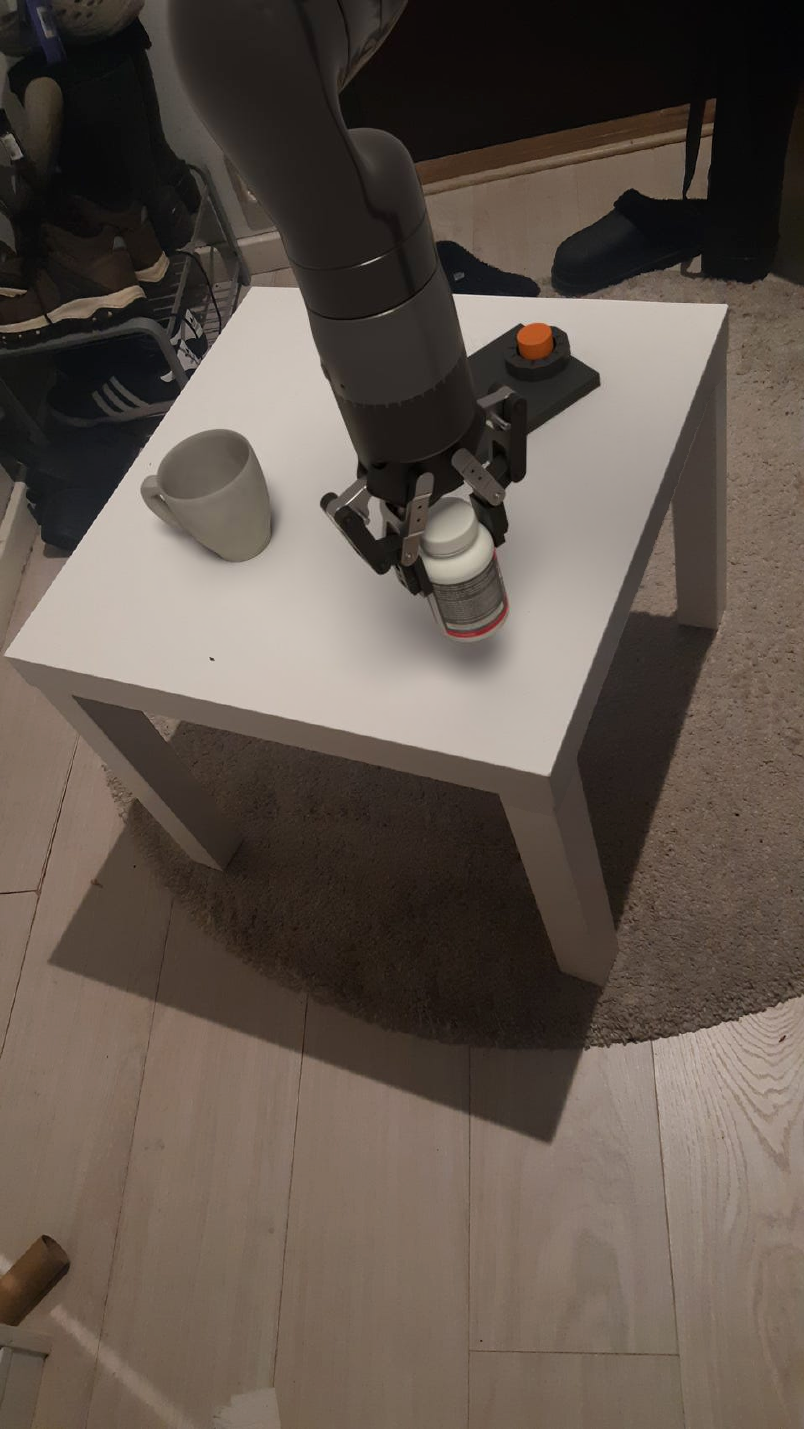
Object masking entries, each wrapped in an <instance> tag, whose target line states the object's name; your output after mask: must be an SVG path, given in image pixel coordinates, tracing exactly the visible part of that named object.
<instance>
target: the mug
mask: <svg viewBox="0 0 804 1429" xmlns="http://www.w3.org/2000/svg"><path fill="white" fill-rule="evenodd" d="M139 491H140V495H141V498H142V500H143V502H144V504H145V505H146V506H147V508H148V510H150V511H151V512H152V513H153V514H154V515H155V516H156V517H158V519H160V520H161V521H162V522H164V523H165V524H166V525H168V526H170V527H172V528H174V529H179V530H185V531H187V532H188V533H189V534H190V535H191V536H192V537H193V538H194V539H195V540H196V541H198V542H199V543H200V544H202V545H203V546H204V547H206V548H207V549H209V550H211V551H212V552H214V553H216V554H217V555H219V557H221V558H222V559H223V560H225V561H228V562H231V563H240V562H245V561H249V560H251V559H254V557H257V556H258V555H259V554H261V553H262V552H263V551H264V550H265V549H266V548H267V546H268V545H269V542H270V540H271V536H272V530H271V519H272V518H271V515H272V510H271V509H272V508H271V497H270V493H269V489H268V484H267V480H266V478H265V475H264V471H263V469H262V466H261V464H260V461H259V459H258V457H257V454H256V452H255V450H254V447H253V446H252V445H251V443H250V441H249V440H248V439H247V438H246V437H245V436H244V435H243V434H241V433H239V432H238V431H235V430H232V429H227V428H214V429H208V430H203V431H200V432H197V433H195V434H193V435H190V436H188V437H186V438H184V439H183V440H181V441H179V442H178V443H177V444H175V445H174V446H173V447H172V448H171V449H170V450H169V451H168V452H167V453H166V454H165V456H164V457H163V458H162V460H161V461H160V462H159V465H158V468H157V473H156V474H151V475H147V476H146V477H145V478H144V479H143V481H142V483H141V485H140V490H139Z"/></svg>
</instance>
